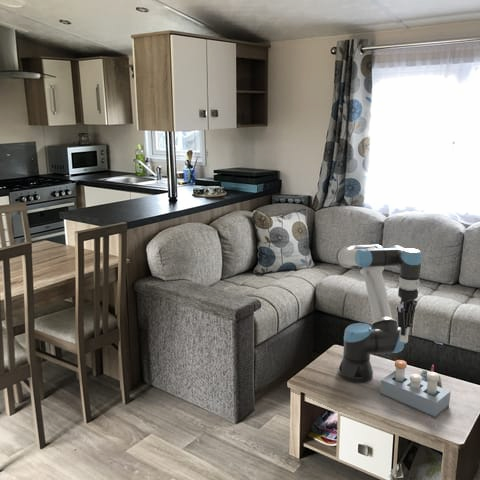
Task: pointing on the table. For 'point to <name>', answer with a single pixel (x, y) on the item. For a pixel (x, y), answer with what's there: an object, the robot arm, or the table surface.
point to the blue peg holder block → (415, 395)
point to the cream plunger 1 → (415, 381)
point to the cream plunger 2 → (432, 383)
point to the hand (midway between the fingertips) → (403, 341)
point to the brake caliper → (424, 378)
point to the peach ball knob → (400, 370)
